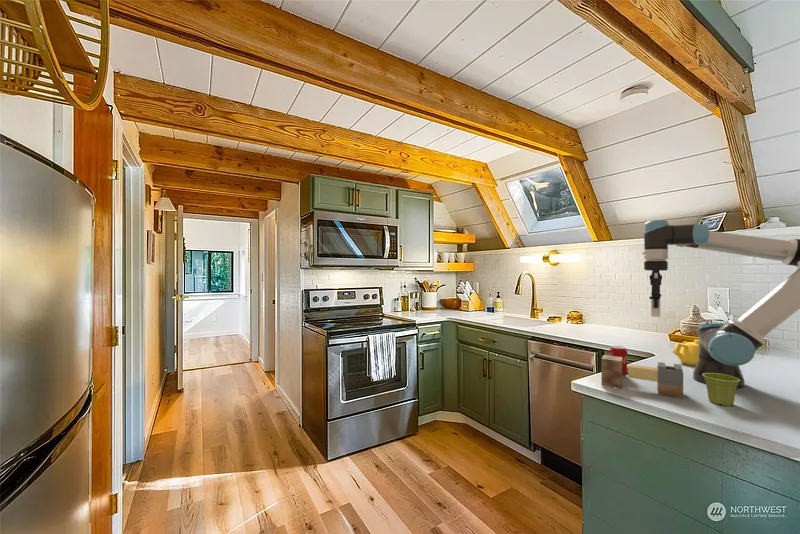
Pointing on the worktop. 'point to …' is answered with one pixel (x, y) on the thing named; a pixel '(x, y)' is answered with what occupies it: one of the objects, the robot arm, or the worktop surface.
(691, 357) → the teapot
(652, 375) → the rod
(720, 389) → the plant pot
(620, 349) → the beverage can
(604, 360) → the socket
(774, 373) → the worktop surface
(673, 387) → the sleeve
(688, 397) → the worktop surface
